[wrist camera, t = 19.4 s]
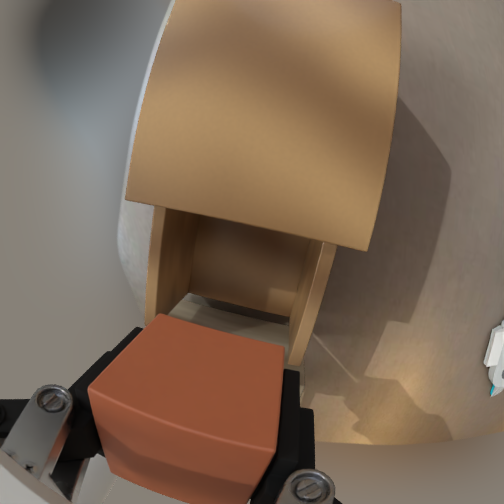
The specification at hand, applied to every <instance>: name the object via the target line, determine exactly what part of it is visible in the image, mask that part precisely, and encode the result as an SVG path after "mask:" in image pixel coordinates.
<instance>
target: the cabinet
mask: <svg viewBox="0 0 504 504" xmlns="http://www.w3.org/2000/svg"><path fill="white" fill-rule="evenodd" d="M400 58H401V4H400V3H398V2H395V1H392V0H176V1H175V4H174V6H173V9H172V11H171V14H170V16H169V19H168V22H167V24H166V27H165V30H164V32H163V35H162V38H161V41H160V44H159V47H158V50H157V53H156V56H155V60H154V63H153V66H152V70H151V73H150V77H149V80H148V84H147V88H146V91H145V95H144V99H143V103H142V107H141V112H140V116H139V120H138V125H137V130H136V135H135V140H134V145H133V150H132V156H131V162H130V168H129V174H128V181H127V188H126V196H125V200H127V201H133V202H138V203H143V204H149V205H154V206H159V207H164V208H169V209H174V210H179V211H184V212H189V213H194V214H199V215H204V216H209V217H214V218H219V219H223V220H228V221H233V222H238V223H242V224H247V225H251V226H256V227H261V228H265V229H270V230H274V231H279V232H283V233H288V234H292V235H296V236H301V237H305V238H309V239H314V240H318V241H322V242H327V243H331V244H335V245H339V246H343V247H347V248H352V249H356V250H360V251H364V252H367V251H368V248H369V244H370V240H371V236H372V233H373V229H374V225H375V221H376V217H377V212H378V208H379V204H380V199H381V195H382V190H383V185H384V181H385V176H386V170H387V165H388V160H389V154H390V148H391V142H392V135H393V128H394V121H395V114H396V105H397V96H398V86H399V73H400Z"/></svg>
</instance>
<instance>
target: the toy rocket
mask: <svg viewBox="0 0 504 504" xmlns="http://www.w3.org/2000/svg"><path fill="white" fill-rule="evenodd" d="M484 364H485V365H486V367H489V366H490V368H489V373H488V375H489V379H490V380H491V382H492V383H493V386H492V389H491V392H490V394H491V397H492V396H494V395H497V394H499V393H500V392H501V391H502V390H503V389H504V320H502V324H501V326H500V325H499V326H497V327H496V328H494V329H492V333H491V337H490V341H489V345H488V349H487V352H486V356H485V359H484Z"/></svg>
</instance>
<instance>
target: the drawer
mask: <svg viewBox="0 0 504 504" xmlns="http://www.w3.org/2000/svg"><path fill="white" fill-rule="evenodd" d="M337 246H338V245H335V244H331V243H327V242H322V241H318V240H314V239H309V238H305V237H301V236H296V235H292V234H288V233H283V232H279V231H274V230H270V229H265V228H261V227H256V226H251V225H247V224H242V223H238V222H233V221H228V220H223V219H219V218H214V217H209V216H204V215H199V214H194V213H189V212H184V211H179V210H174V209H169V208H164V207H159V206H154V212H153V220H152V228H151V237H150V247H149V257H148V269H147V283H146V300H145V326H147V325H148V324H149V323H150V322H151V321H152V320H153V319H154V318H155V317H156V316H157V315H158V314H160V313H162V314H165V315H168V316H171V317H174V318H178V319H181V320H184V321H188V322H191V323H194V324H198V325H201V326H205V327H208V328H212V329H216V330H219V331H223V332H227V333H231V334H235V335H238V336H242V337H246V338H251V339H255V340H259V341H263V342H267V343H272V344H276V345H281V346H284V347H285V356H284V369H290V370H295V371H299V372H300V397H301V395H302V392H303V390H304V387H305V376H304V354H305V352H306V349H307V346H308V343H309V340H310V337H311V334H312V331H313V328H314V325H315V322H316V319H317V316H318V312H319V309H320V306H321V303H322V299H323V296H324V293H325V289H326V286H327V283H328V279H329V276H330V272H331V269H332V265H333V261H334V258H335V254H336V250H337ZM187 293H192V294H196V295H199V296H203V297H207V298H211V299H215V300H219V301H223V302H227V303H231V304H235V305H239V306H243V307H247V308H251V309H256V310H260V311H264V312H268V313H273V314H277V315H282V316H286V317H290V323H289V326H286V325H282V324H277V323H273V322H268V321H264V320H259V319H255V318H251V317H247V316H243V315H238V314H234V313H230V312H226V311H222V310H219V309H215V308H211V307H207V306H203V305H200V304H196V303H192V302H189V301H185V300H182V299H183V298H184V297H185V296H186V295H187Z"/></svg>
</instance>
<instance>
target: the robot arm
mask: <svg viewBox="0 0 504 504" xmlns="http://www.w3.org/2000/svg"><path fill="white" fill-rule="evenodd" d="M142 330H143V328H140V327H136V328H134V330H132V331H131V332H130V334H128V335H127V336H126V337H125V338H124V339H123V340H122V341H121V342H120V343H119V344H118V345H117V346H116V347H115V348H114V349H113V350H112V351H107V352H106V353H105V354H104V355H103V356H102V357H101V358H100V359H98V360H97V361H96V362H95V363H94V364H93V365H92V366H91V367H90V368H89V369H88V370H87V371H86V372H85V373H84V374H83V375H82V376H81V377H80V378H79V379H78V380H77V381H76V382H75V383H74V384H73V385H72V386H71V387H70V388H69V389H68V390H67V389H66V388H64V387H62V386H59V385H45V386H42V387H41V388H39V389H37V391H36V392H35V393H34V394H33V396H32V397H31V399H13V400H12V399H0V504H102V503H103V502H104V500H105V498H106V497H107V495H108V493H109V492H110V490H111V488H112V487H113V485H114V483H115V482H116V480H117V478H118V477H119V476H117V475H115V474H113V473H111V472H110V469H109V466H108V463H107V460H106V457H105V454H104V451H103V448H102V445H101V442H100V438H99V435H98V431H97V428H96V424H95V420H94V416H93V412H92V408H91V404H90V399H89V395H88V386H89V385H90V384H91V383H92V382H93V381H94V380H95V379H96V378H97V377H98V376H99V375H100V374H101V373H102V372H103V371H104V369H105V368H106V367H107V366H108V365H109V364H110V363H111V362H112V361H113V360H114V359H115V358H116V357H117V356H118V355H119V354H120V353H121V352H122V351H123V350H124V349H125V348H126V347H127V346H128V345H129V344H130V343H131V342H132V340H133V339H134V338H135V337H136V336H137V335H138V334H139V333H140V332H141V331H142ZM334 496H335V485H334V483H333V481H332V480H331V478H330V477H329V476H328V475H326V474H325V473H323V472H321V471H318V470H315V439H314V413H313V410H312V409H307V408H301V407H300V372H299V371H295V370H290V369H284V370H283V383H282V394H281V406H280V417H279V427H278V437H277V446H276V452H275V454H274V456H273V458H272V460H271V462H270V463H269V465H268V467H267V469H266V471H265V473H264V475H263V476H262V478H261V480H260V482H259V484H258V485H257V487H256V489H255V491H254V492H253V494H252V496H251V498H250V499H251V501H250V504H342V503H341V502H340V501H338V500H337V499H336V498H335V497H334Z"/></svg>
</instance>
